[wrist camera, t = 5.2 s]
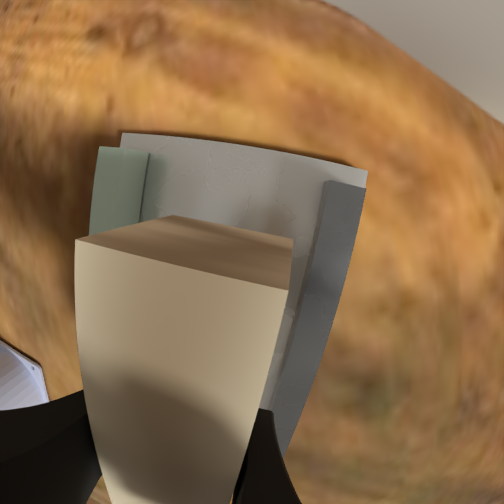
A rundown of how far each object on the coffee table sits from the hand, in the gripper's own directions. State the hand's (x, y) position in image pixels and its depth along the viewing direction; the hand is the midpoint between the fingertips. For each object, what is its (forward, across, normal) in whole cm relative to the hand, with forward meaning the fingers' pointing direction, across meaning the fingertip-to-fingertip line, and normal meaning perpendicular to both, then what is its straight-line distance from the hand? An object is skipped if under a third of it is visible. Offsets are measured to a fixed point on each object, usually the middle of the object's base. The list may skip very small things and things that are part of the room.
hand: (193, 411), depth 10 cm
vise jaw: (+7, +7, 0) cm, 10 cm away
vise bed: (+8, +2, 0) cm, 8 cm away
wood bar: (+2, 0, 0) cm, 2 cm away
